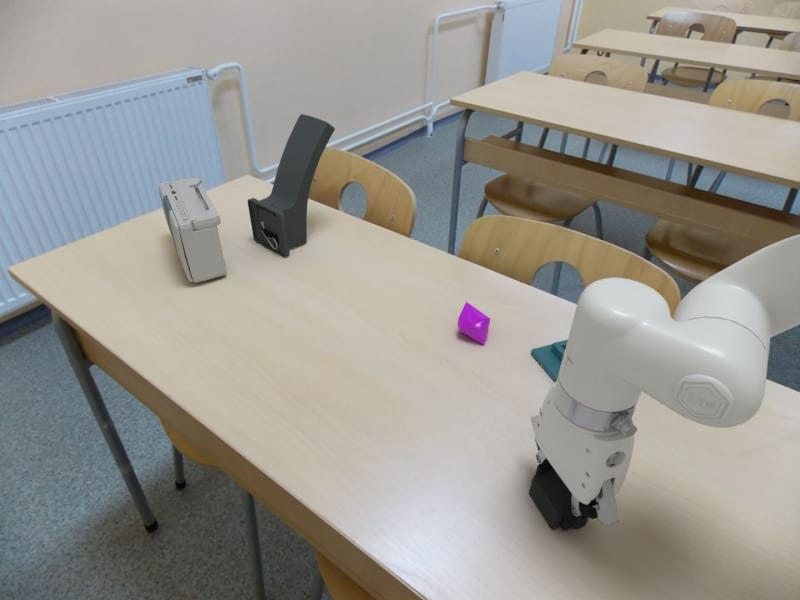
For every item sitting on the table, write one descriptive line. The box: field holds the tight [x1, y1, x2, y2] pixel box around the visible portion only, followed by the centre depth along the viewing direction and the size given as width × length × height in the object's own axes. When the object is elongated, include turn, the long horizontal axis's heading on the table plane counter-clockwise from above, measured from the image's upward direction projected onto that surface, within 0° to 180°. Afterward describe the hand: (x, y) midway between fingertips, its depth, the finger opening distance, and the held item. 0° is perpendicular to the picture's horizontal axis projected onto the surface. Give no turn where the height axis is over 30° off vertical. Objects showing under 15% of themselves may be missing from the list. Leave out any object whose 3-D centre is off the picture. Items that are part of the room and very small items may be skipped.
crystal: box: [457, 301, 491, 346], centre depth 86 cm, size 5×5×5 cm
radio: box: [158, 177, 227, 284], centre depth 100 cm, size 21×8×20 cm, turn 28°
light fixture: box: [247, 113, 336, 258], centre depth 107 cm, size 11×17×24 cm, turn 139°
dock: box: [530, 339, 568, 383], centre depth 81 cm, size 11×19×2 cm, turn 110°
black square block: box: [528, 469, 572, 530], centre depth 61 cm, size 5×5×4 cm
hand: (558, 502), depth 61 cm, fingers closed on black square block, 5 cm apart
